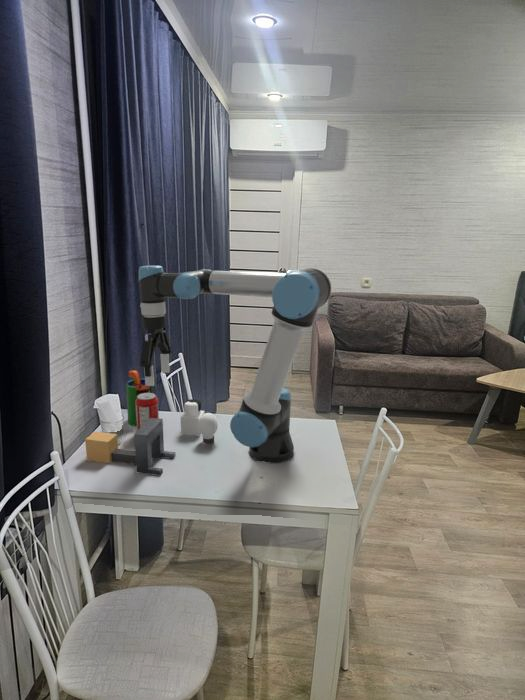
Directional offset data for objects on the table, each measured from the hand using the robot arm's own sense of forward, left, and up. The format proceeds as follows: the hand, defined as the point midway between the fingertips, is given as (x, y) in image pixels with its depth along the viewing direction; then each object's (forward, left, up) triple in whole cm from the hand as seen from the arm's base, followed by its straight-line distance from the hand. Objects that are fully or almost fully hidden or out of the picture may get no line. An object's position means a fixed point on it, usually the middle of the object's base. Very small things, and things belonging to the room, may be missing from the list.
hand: (158, 378), depth 146 cm
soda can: (+8, -8, -25) cm, 27 cm away
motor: (+16, -18, -25) cm, 35 cm away
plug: (+11, +11, -25) cm, 29 cm away
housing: (-3, +11, -25) cm, 27 cm away
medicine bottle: (-7, -14, -25) cm, 29 cm away
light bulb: (-15, -7, -25) cm, 30 cm away
